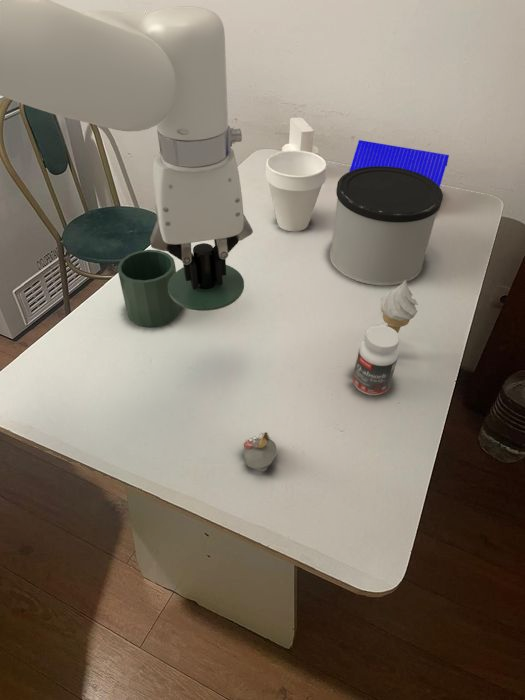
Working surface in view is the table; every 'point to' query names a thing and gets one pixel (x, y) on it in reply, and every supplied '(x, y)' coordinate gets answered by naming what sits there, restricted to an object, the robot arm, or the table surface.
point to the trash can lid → (205, 284)
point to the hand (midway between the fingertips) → (205, 280)
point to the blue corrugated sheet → (400, 159)
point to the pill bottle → (376, 360)
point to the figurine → (259, 452)
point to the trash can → (148, 287)
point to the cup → (295, 186)
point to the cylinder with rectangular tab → (300, 136)
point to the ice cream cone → (398, 307)
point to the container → (383, 224)
